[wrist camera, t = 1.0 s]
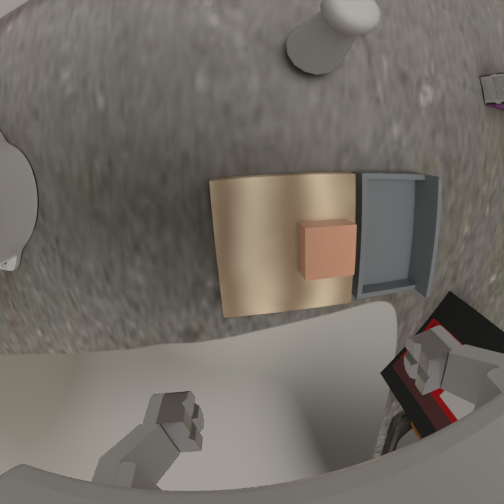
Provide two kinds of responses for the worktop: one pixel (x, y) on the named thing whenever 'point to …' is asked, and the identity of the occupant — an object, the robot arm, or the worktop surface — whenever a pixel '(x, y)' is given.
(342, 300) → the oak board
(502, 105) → the candy bar box
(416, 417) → the cleaning product box
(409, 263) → the tray
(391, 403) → the worktop surface
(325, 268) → the terracotta tile
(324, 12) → the salt shaker
